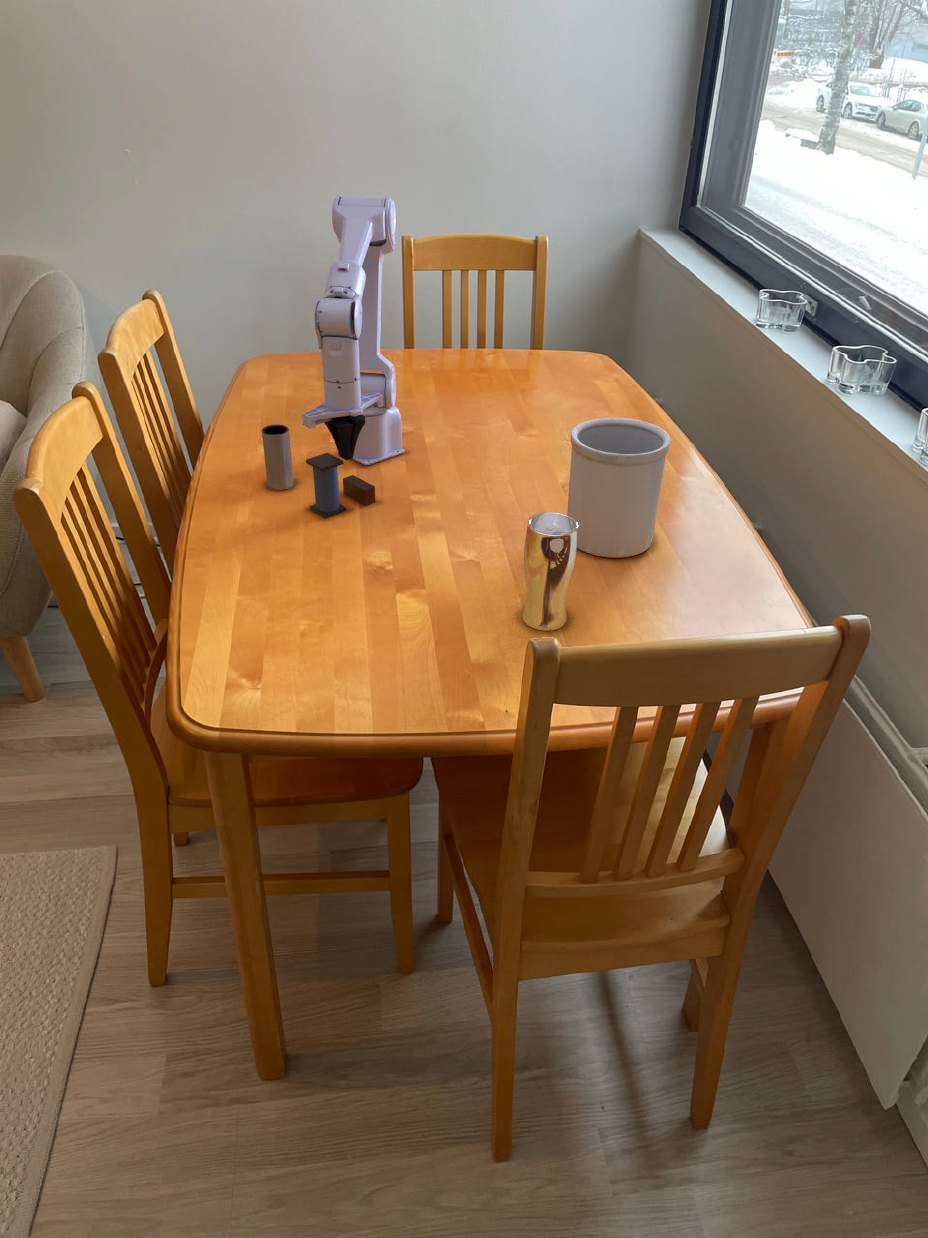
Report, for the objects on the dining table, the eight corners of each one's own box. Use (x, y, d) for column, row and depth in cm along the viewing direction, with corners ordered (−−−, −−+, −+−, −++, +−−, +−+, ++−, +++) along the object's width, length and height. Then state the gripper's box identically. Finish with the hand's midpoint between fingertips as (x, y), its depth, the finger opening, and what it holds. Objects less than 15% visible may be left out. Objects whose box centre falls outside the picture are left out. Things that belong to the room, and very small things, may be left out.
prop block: (353, 490, 159) (353, 474, 157) (375, 502, 155) (374, 486, 153) (343, 494, 157) (342, 478, 156) (365, 506, 154) (364, 490, 152)
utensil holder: (545, 524, 150) (553, 423, 140) (623, 509, 155) (636, 410, 145) (590, 567, 139) (602, 461, 129) (672, 549, 144) (690, 446, 134)
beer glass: (516, 605, 130) (522, 511, 121) (564, 604, 130) (574, 510, 122) (523, 633, 124) (530, 537, 116) (573, 632, 125) (584, 535, 116)
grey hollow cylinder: (288, 491, 158) (283, 435, 152) (263, 489, 158) (257, 433, 152) (297, 480, 161) (292, 425, 155) (273, 477, 162) (267, 423, 156)
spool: (349, 465, 155) (313, 444, 147) (366, 474, 152) (330, 452, 145) (323, 515, 155) (285, 497, 148) (338, 525, 153) (301, 506, 145)
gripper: (318, 394, 136) (324, 478, 144) (393, 373, 144) (395, 453, 152) (291, 382, 140) (298, 463, 148) (366, 362, 149) (369, 440, 156)
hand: (346, 457), depth 150 cm, fingers closed
